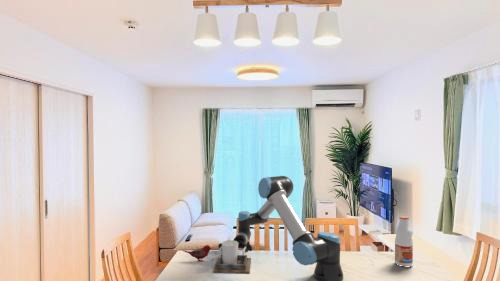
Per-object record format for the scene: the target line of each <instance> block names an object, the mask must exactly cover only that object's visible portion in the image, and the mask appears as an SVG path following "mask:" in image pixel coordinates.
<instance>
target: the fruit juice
mask: <svg viewBox="0 0 500 281" xmlns="http://www.w3.org/2000/svg"><path fill="white" fill-rule="evenodd" d="M409 217H410V216H407V215H400V216H399V222H398V225H397V226H396V227H395V238H394V264H395V263H396V264H398V265H402V266H411V265H412V264H413V261H414V260H413V259H414V258H413V257H414V256H413V253H414V252H413V251H414V248H413V247H414V246H413V244H414V241H413V238H412V237H413V234H414V233H413V230H412V228H411V226H410V223H409ZM396 264H395V265H396ZM398 265H397V266H398ZM413 265H414V264H413ZM413 265H412V266H413Z"/></svg>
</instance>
